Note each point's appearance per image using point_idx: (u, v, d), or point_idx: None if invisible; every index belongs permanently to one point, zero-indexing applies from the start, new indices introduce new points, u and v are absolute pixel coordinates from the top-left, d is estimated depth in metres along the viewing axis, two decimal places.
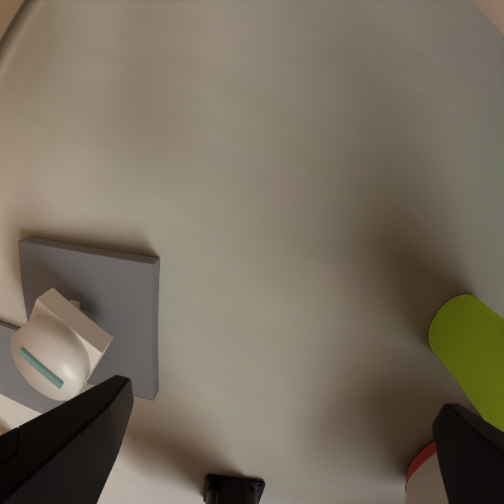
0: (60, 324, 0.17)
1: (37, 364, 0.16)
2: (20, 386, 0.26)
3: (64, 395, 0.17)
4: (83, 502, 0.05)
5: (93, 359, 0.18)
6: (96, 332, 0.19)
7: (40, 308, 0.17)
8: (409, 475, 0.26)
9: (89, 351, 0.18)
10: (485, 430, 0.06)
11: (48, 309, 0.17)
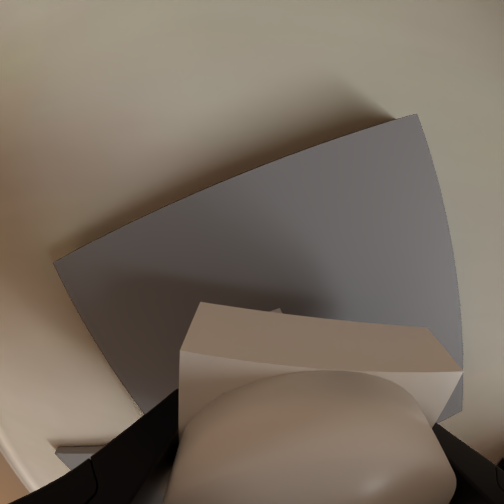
0: (321, 381, 0.05)
1: None
2: None
3: None
4: None
5: (436, 406, 0.06)
6: (398, 338, 0.07)
7: (208, 377, 0.05)
8: None
9: (425, 395, 0.05)
10: (440, 438, 0.06)
11: (243, 362, 0.05)
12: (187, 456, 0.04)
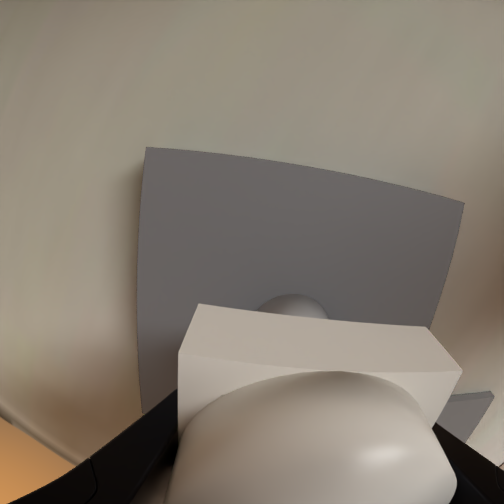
0: (320, 382, 0.05)
1: None
2: None
3: None
4: None
5: (435, 406, 0.06)
6: (398, 338, 0.06)
7: (206, 379, 0.05)
8: None
9: (424, 395, 0.05)
10: (440, 438, 0.06)
11: (241, 364, 0.05)
12: (186, 458, 0.04)
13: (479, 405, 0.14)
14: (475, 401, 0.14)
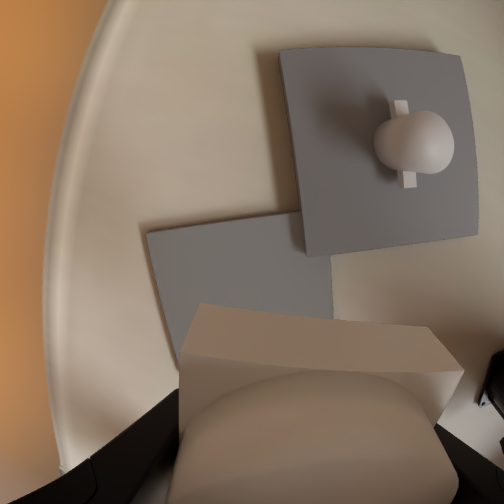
0: (323, 382, 0.05)
1: None
2: None
3: None
4: None
5: (437, 406, 0.05)
6: (399, 338, 0.06)
7: (208, 378, 0.05)
8: None
9: (426, 395, 0.05)
10: (440, 438, 0.06)
11: (243, 363, 0.05)
12: (188, 458, 0.04)
13: None
14: None
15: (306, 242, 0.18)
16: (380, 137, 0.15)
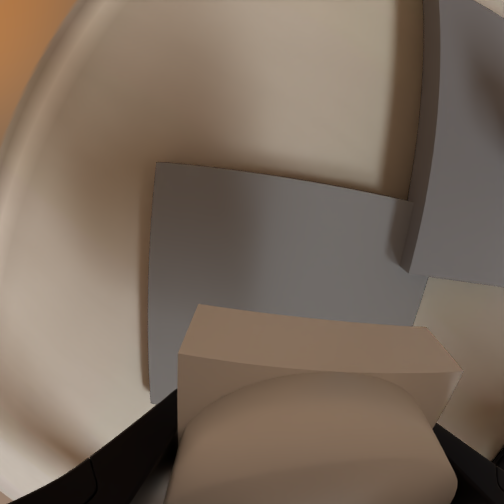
0: (321, 383, 0.05)
1: None
2: None
3: None
4: None
5: (436, 407, 0.05)
6: (398, 339, 0.06)
7: (206, 380, 0.05)
8: None
9: (425, 396, 0.05)
10: (440, 438, 0.06)
11: (241, 364, 0.05)
12: (186, 459, 0.04)
13: None
14: None
15: (415, 250, 0.11)
16: None
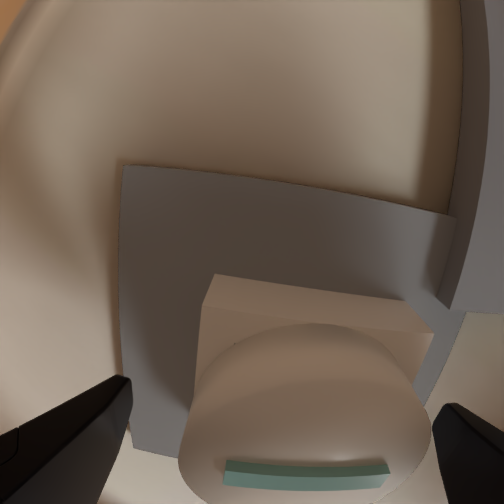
0: (314, 330, 0.07)
1: (300, 477, 0.05)
2: None
3: (380, 491, 0.06)
4: (83, 502, 0.05)
5: (412, 365, 0.07)
6: (379, 307, 0.08)
7: (223, 328, 0.07)
8: None
9: (402, 353, 0.07)
10: (485, 430, 0.06)
11: (251, 315, 0.07)
12: (205, 392, 0.06)
13: None
14: None
15: (459, 280, 0.08)
16: None
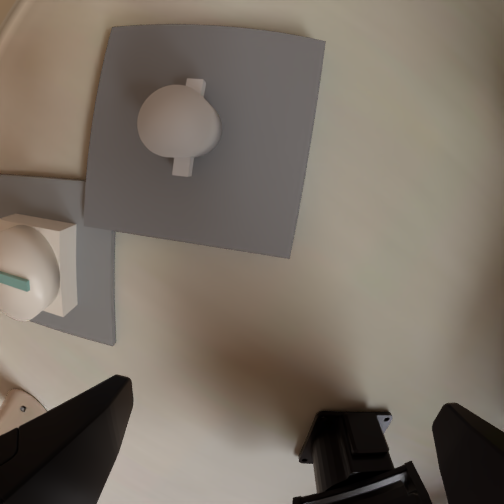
0: (18, 225, 0.16)
1: (2, 275, 0.15)
2: None
3: (36, 302, 0.15)
4: (83, 502, 0.05)
5: (56, 246, 0.16)
6: (56, 224, 0.17)
7: (2, 227, 0.16)
8: None
9: (49, 239, 0.16)
10: (485, 430, 0.06)
11: (8, 222, 0.16)
12: None
13: (104, 330, 0.20)
14: (108, 324, 0.20)
15: (85, 211, 0.17)
16: None
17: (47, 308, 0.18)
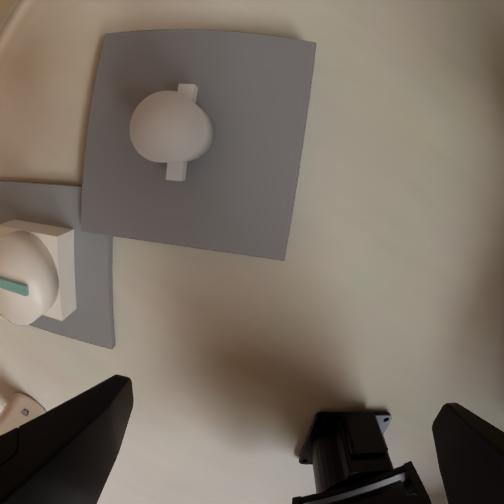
0: (16, 231, 0.16)
1: (2, 280, 0.15)
2: None
3: (35, 306, 0.15)
4: (83, 502, 0.05)
5: (54, 251, 0.17)
6: (54, 229, 0.18)
7: (1, 233, 0.16)
8: None
9: (47, 244, 0.17)
10: (485, 430, 0.06)
11: (7, 228, 0.16)
12: None
13: (103, 334, 0.20)
14: (107, 327, 0.20)
15: (82, 216, 0.17)
16: None
17: (46, 312, 0.18)
